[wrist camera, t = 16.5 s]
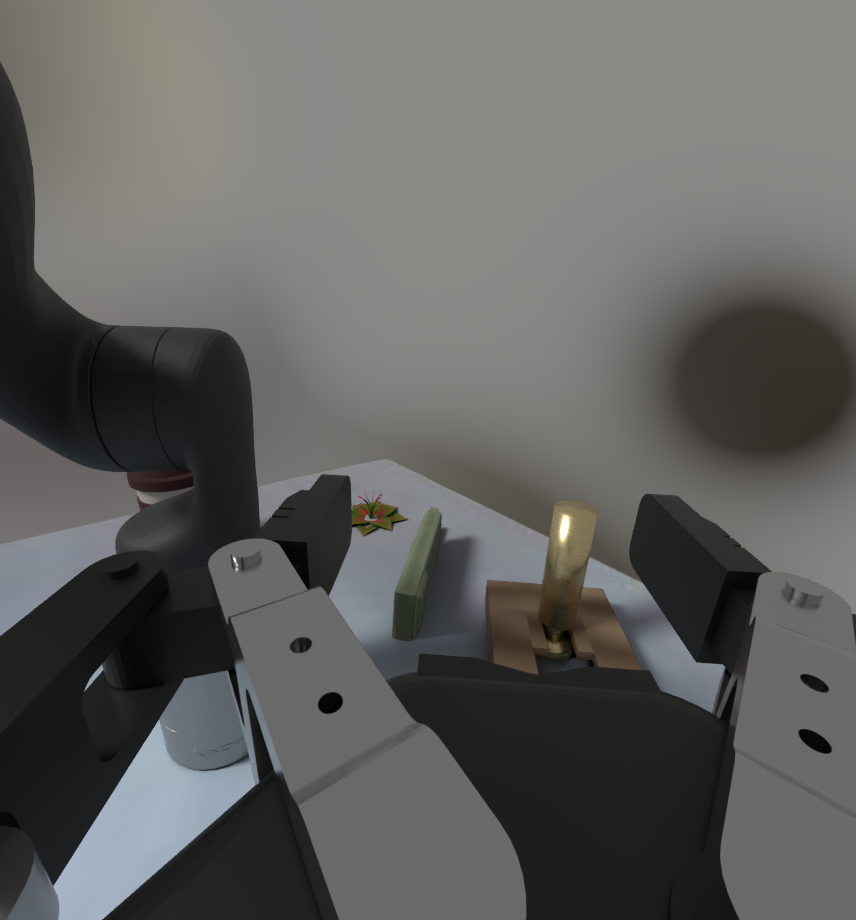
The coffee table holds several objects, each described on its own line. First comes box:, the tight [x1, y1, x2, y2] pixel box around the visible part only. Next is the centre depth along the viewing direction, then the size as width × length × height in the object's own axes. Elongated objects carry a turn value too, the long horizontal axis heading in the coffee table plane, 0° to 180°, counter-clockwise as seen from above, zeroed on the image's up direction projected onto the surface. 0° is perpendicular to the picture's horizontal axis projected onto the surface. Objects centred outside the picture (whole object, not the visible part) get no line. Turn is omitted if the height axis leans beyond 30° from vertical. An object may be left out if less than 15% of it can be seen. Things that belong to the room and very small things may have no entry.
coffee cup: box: [127, 471, 194, 510], centre depth 59 cm, size 10×10×15 cm
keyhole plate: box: [485, 580, 642, 674], centre depth 44 cm, size 20×14×3 cm
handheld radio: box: [392, 507, 442, 641], centre depth 58 cm, size 7×3×25 cm
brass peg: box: [538, 500, 598, 662], centre depth 44 cm, size 4×4×17 cm
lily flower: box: [351, 492, 406, 536], centre depth 73 cm, size 12×12×5 cm
